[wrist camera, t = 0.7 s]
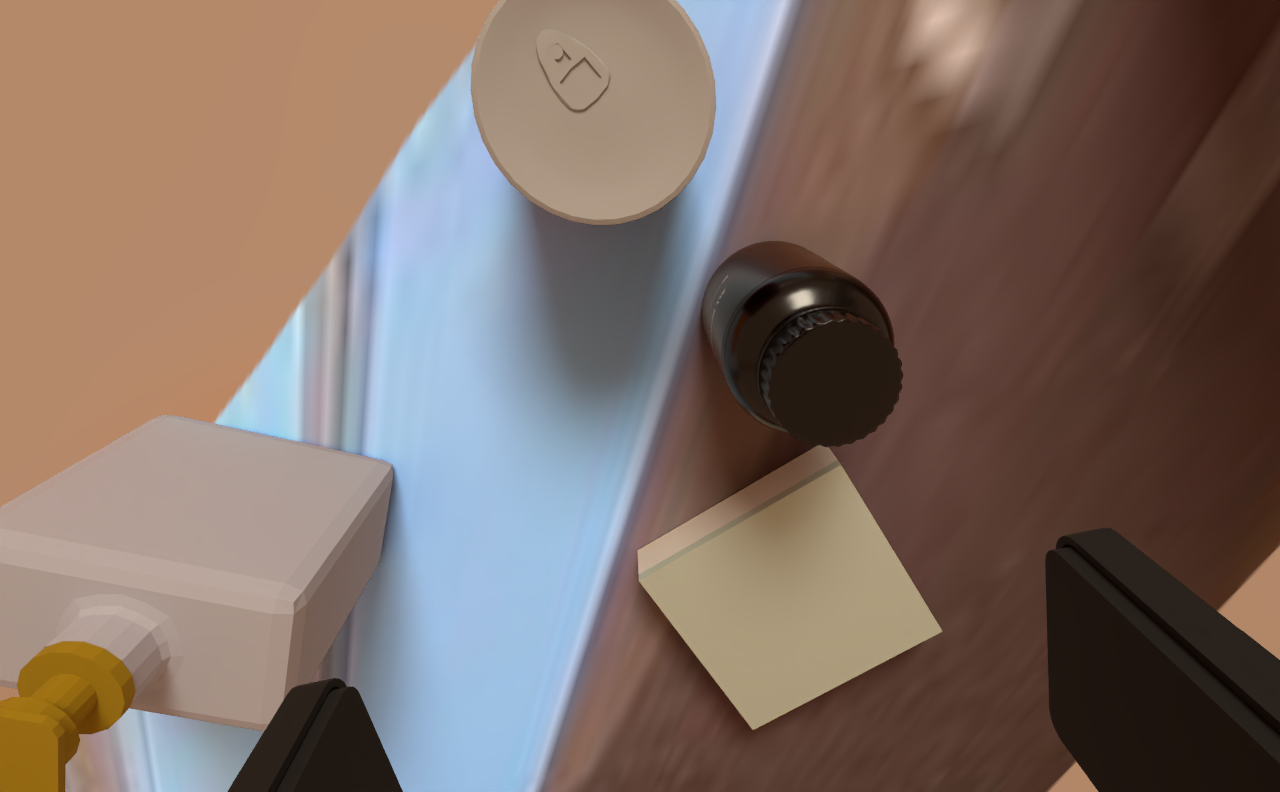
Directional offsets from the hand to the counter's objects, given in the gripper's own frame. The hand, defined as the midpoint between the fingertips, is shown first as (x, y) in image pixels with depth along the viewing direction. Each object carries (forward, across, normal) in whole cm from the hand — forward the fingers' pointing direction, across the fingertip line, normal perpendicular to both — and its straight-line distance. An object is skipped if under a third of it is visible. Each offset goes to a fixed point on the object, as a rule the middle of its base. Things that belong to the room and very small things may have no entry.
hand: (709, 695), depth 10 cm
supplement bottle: (+28, -6, +2) cm, 28 cm away
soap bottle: (+27, +22, +6) cm, 35 cm away
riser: (+27, -4, +18) cm, 33 cm away
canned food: (+28, 0, -8) cm, 29 cm away
